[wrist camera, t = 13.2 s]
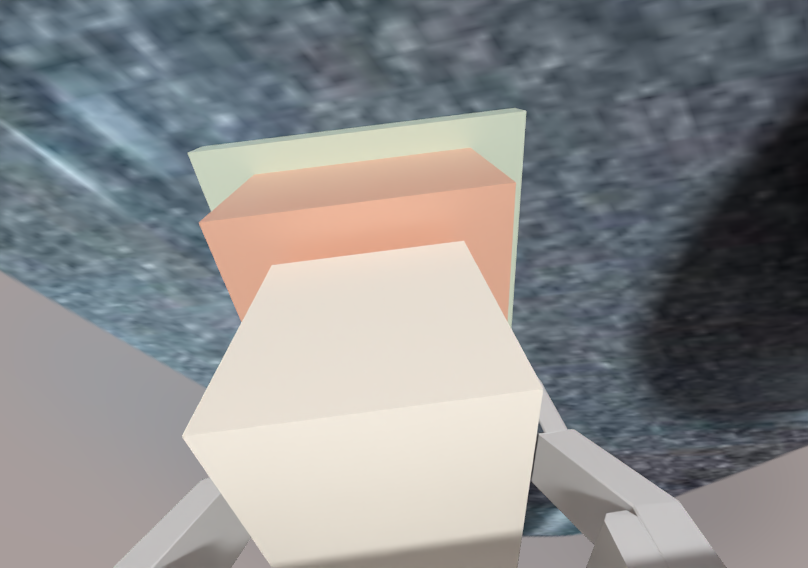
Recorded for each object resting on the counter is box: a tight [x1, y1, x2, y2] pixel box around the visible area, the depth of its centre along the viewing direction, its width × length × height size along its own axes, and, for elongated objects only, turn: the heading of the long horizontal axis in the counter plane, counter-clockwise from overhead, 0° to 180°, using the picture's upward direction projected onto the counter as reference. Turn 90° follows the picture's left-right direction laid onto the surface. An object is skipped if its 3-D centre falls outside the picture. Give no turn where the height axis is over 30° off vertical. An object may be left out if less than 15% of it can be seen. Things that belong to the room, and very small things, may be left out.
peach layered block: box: [188, 108, 526, 327], centre depth 14 cm, size 12×12×6 cm
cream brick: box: [182, 241, 543, 568], centre depth 9 cm, size 8×5×5 cm, turn 6°
